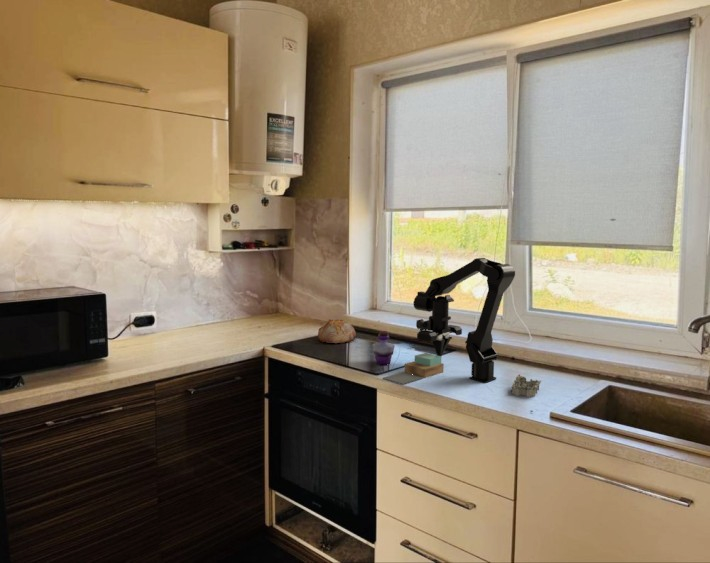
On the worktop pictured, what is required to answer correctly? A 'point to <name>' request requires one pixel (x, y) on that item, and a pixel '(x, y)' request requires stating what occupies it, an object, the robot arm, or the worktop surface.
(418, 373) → the block
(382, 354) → the potion bottle
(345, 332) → the bread
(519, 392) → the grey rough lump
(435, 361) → the tile
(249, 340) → the worktop surface
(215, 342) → the worktop surface
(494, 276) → the robot arm
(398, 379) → the mat
